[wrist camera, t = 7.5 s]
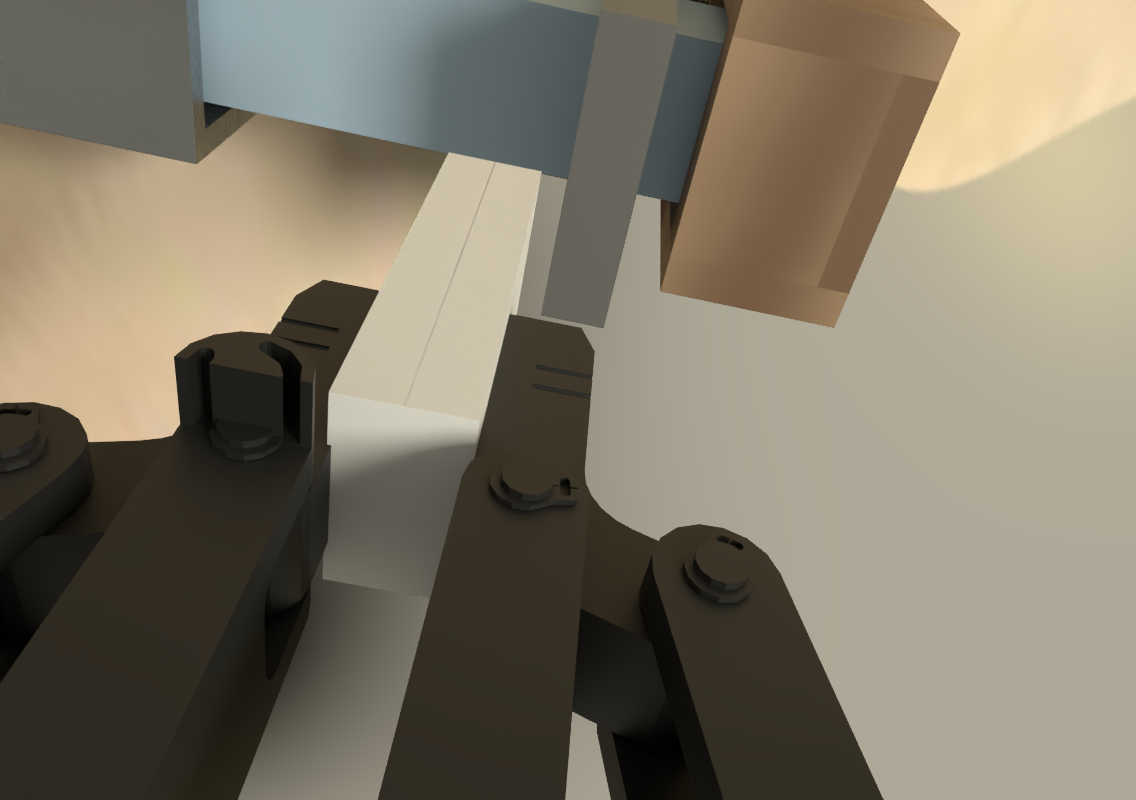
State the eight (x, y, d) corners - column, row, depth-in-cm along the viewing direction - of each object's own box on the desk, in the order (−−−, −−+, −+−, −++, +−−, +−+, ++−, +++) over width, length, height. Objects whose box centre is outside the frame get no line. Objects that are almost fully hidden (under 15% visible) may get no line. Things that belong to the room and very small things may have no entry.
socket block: (660, 184, 28) (660, 291, 22) (726, -67, 24) (747, -15, 18) (799, 214, 28) (833, 327, 22) (889, -30, 24) (960, 33, 18)
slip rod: (161, 69, 27) (-46, 193, 19) (139, -180, 23) (-129, -153, 15) (740, 194, 27) (771, 363, 20) (811, -28, 24) (884, 72, 16)
